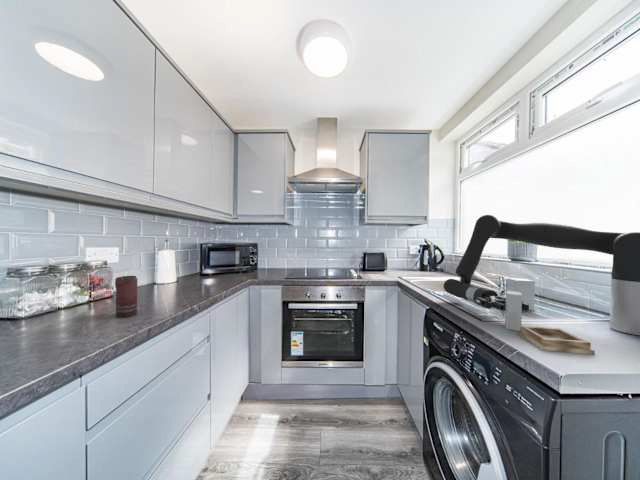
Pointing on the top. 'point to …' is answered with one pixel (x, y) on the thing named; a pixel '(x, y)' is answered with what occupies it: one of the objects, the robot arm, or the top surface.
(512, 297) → the skincare box
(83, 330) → the top surface
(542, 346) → the wooden tray
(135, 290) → the can
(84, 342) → the top surface
